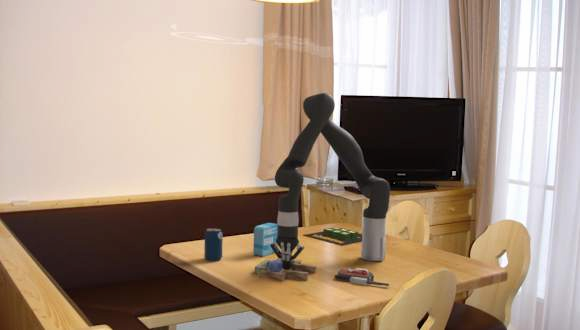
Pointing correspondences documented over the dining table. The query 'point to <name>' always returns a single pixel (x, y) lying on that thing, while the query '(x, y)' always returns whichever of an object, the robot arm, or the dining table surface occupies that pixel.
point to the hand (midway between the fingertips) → (286, 270)
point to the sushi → (337, 236)
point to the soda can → (213, 244)
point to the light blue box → (264, 239)
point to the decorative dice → (275, 266)
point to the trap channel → (285, 271)
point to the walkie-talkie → (358, 276)
